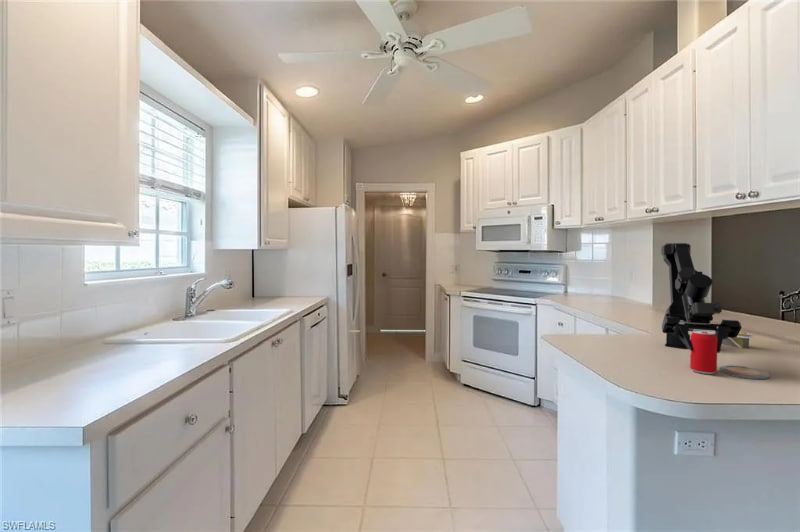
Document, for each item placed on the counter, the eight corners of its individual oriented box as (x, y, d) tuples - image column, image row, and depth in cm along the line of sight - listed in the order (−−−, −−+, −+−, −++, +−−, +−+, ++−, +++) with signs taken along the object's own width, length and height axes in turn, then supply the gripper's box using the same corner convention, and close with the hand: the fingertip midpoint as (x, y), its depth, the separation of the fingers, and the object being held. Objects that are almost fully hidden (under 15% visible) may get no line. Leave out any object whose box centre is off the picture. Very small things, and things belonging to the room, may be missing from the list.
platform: (764, 355, 133) (765, 336, 132) (699, 346, 146) (700, 328, 146) (770, 349, 140) (770, 331, 140) (707, 340, 154) (708, 324, 154)
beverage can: (712, 370, 117) (714, 330, 116) (719, 376, 111) (720, 334, 111) (687, 367, 120) (688, 328, 119) (692, 373, 114) (693, 332, 113)
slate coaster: (716, 373, 114) (716, 371, 114) (721, 365, 122) (722, 363, 122) (768, 382, 106) (768, 379, 106) (770, 372, 114) (770, 370, 114)
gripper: (664, 290, 122) (671, 333, 112) (740, 293, 114) (754, 338, 105) (658, 311, 129) (665, 353, 120) (729, 315, 122) (742, 359, 112)
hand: (705, 350), depth 114 cm, fingers closed on beverage can, 6 cm apart
